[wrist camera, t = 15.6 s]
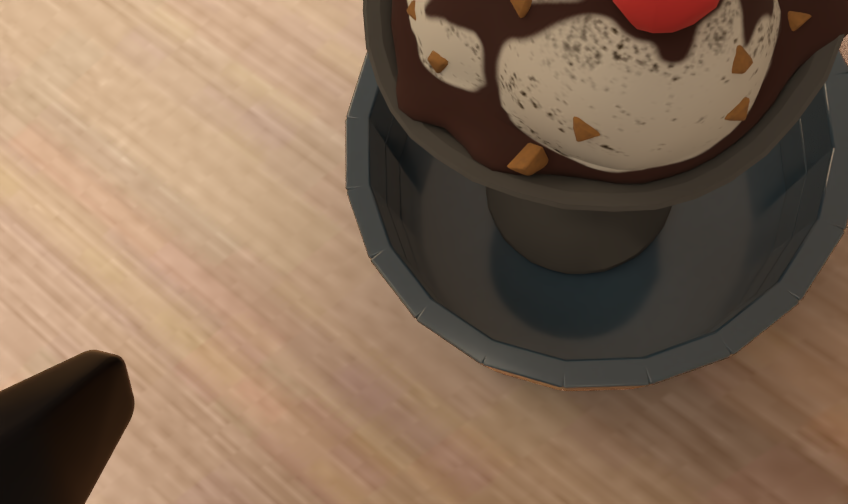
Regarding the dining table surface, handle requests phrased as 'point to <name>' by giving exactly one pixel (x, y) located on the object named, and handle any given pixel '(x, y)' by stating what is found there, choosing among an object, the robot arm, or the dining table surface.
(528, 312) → the dark grey round dish
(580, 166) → the sundae
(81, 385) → the robot arm
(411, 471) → the dining table surface
